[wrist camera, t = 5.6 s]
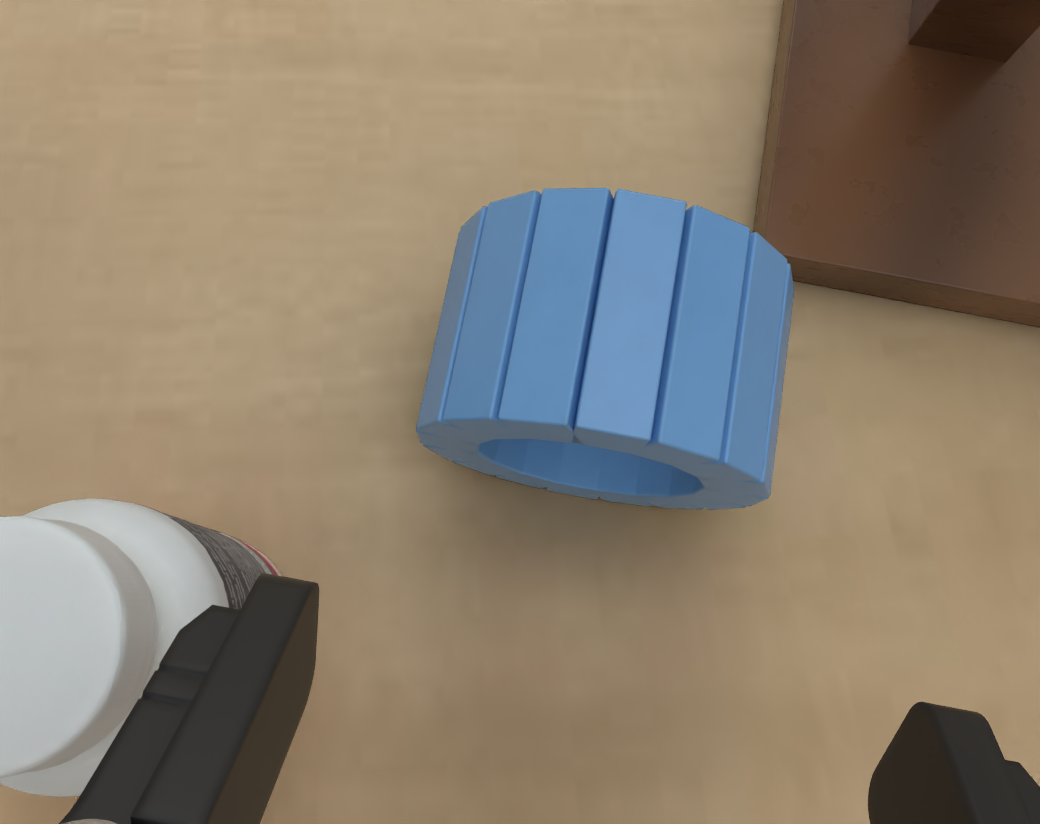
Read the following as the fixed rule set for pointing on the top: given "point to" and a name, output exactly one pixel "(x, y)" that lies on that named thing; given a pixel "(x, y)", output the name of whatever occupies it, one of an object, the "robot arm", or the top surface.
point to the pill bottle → (96, 625)
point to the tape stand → (908, 151)
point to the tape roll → (612, 350)
